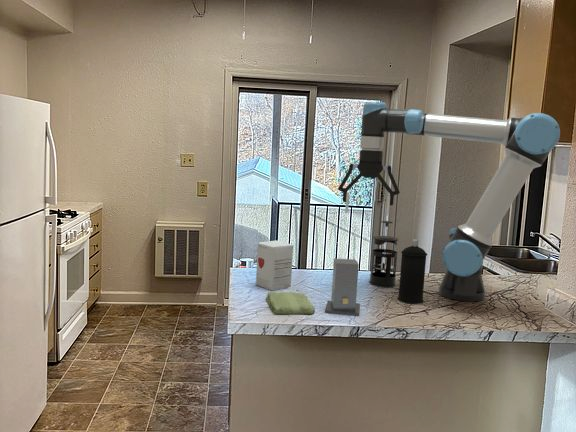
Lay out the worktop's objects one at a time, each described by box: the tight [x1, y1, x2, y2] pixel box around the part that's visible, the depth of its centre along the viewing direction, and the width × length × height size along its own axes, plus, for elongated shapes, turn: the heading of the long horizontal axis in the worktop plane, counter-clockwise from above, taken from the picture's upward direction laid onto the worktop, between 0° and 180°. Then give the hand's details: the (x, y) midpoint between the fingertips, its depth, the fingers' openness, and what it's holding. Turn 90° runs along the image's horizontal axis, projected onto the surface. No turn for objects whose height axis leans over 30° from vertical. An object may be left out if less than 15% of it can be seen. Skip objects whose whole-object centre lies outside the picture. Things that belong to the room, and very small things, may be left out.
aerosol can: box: [397, 239, 428, 305], centre depth 175 cm, size 8×8×20 cm
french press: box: [368, 220, 399, 288], centre depth 195 cm, size 12×9×23 cm
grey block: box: [330, 258, 360, 311], centre depth 162 cm, size 9×7×14 cm
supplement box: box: [255, 240, 294, 292], centre depth 185 cm, size 9×9×15 cm
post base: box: [324, 300, 361, 317], centre depth 163 cm, size 10×10×6 cm
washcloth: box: [265, 291, 316, 315], centre depth 164 cm, size 13×18×3 cm
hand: (366, 213), depth 181 cm, fingers open, 13 cm apart
